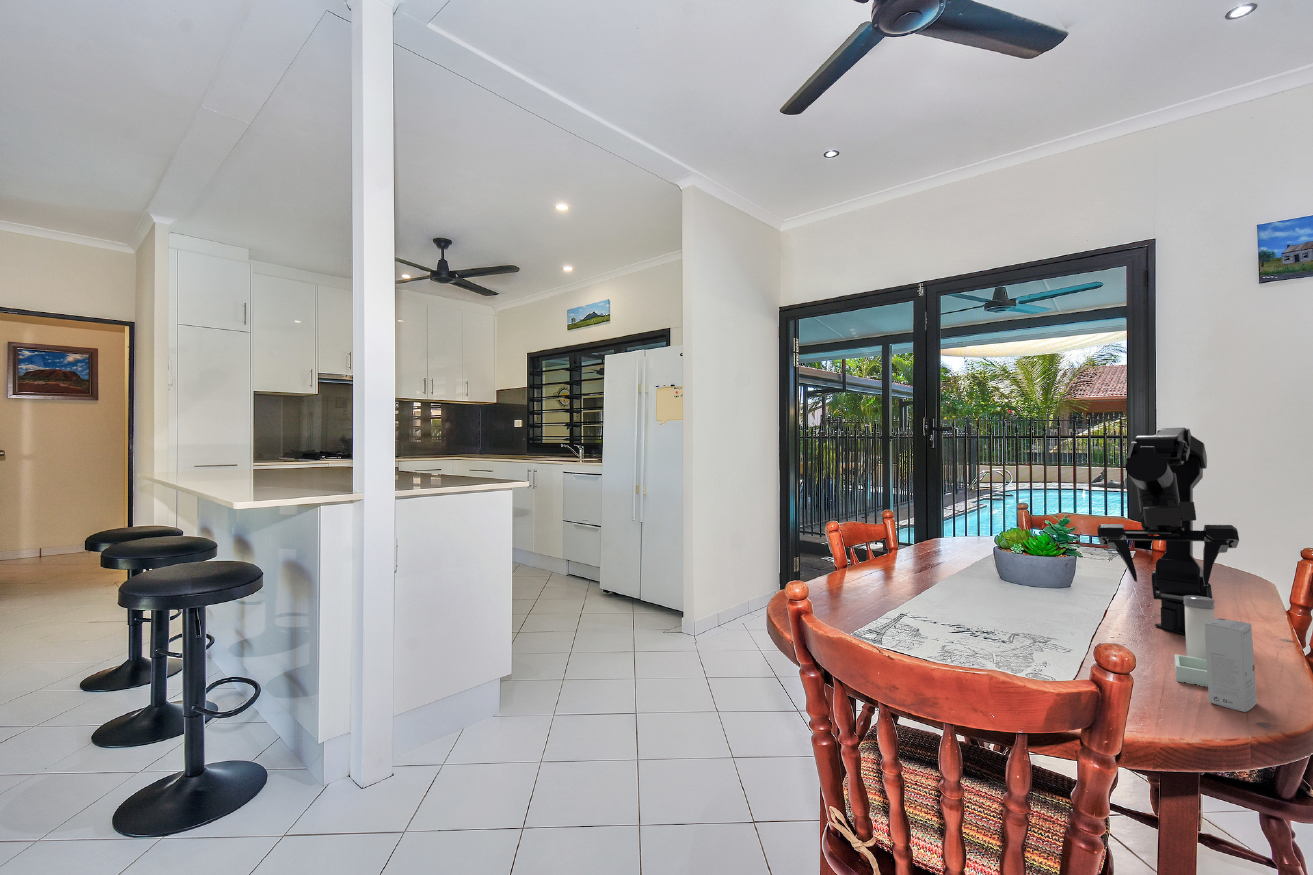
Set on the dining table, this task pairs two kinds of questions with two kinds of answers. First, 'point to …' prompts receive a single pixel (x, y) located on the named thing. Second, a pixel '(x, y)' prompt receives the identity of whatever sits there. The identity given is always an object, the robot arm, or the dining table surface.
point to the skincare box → (1230, 664)
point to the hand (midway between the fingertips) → (1169, 583)
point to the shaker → (1197, 624)
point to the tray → (1191, 670)
